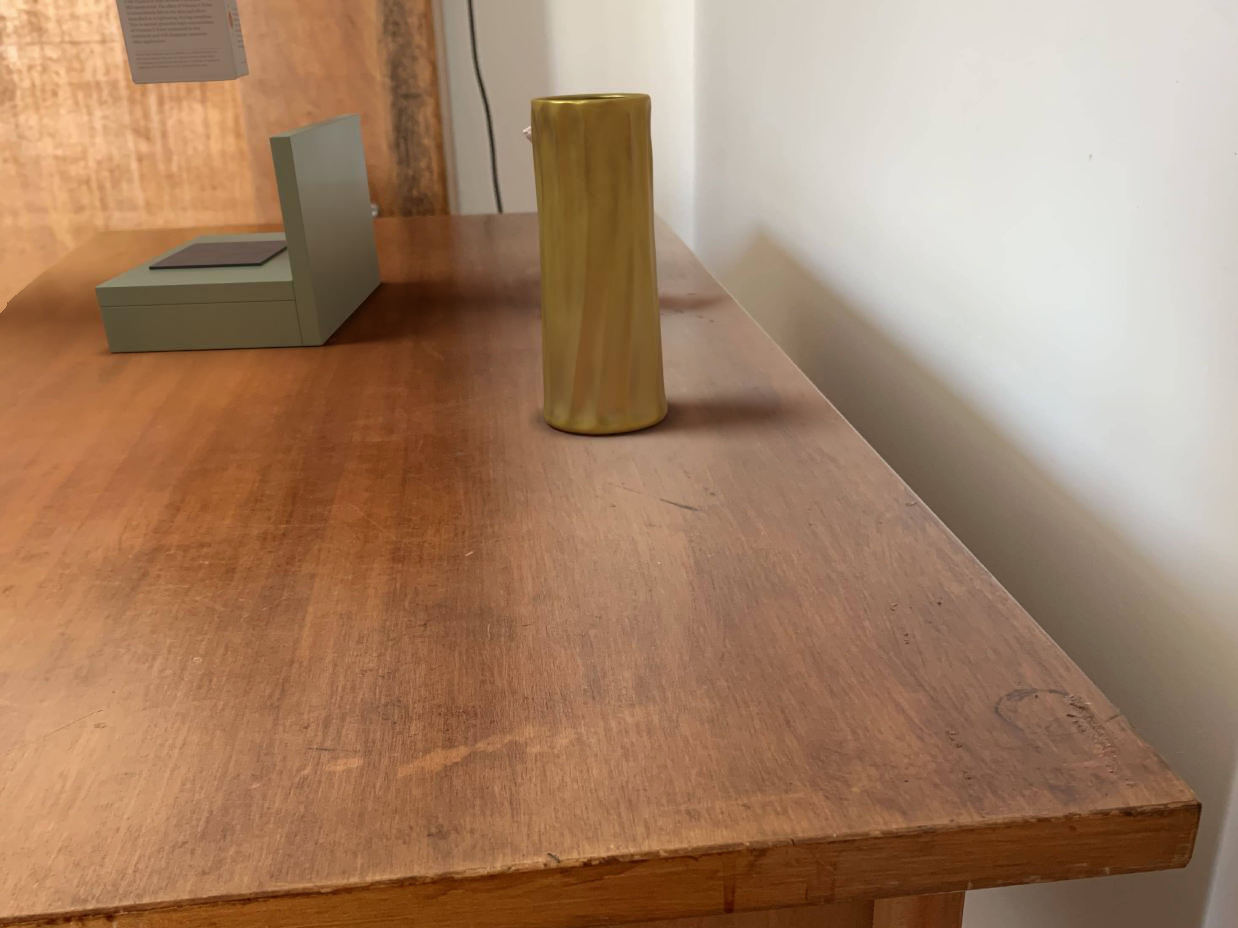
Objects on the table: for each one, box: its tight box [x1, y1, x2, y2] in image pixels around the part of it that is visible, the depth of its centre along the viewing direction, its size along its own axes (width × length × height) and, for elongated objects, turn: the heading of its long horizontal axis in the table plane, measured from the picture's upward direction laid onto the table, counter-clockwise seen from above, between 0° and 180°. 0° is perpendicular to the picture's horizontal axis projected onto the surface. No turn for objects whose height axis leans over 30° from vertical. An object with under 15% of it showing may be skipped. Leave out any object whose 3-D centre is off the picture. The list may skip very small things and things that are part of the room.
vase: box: [530, 92, 669, 435], centre depth 54 cm, size 6×6×14 cm
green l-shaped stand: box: [94, 113, 381, 354], centre depth 78 cm, size 13×20×12 cm, turn 1°
